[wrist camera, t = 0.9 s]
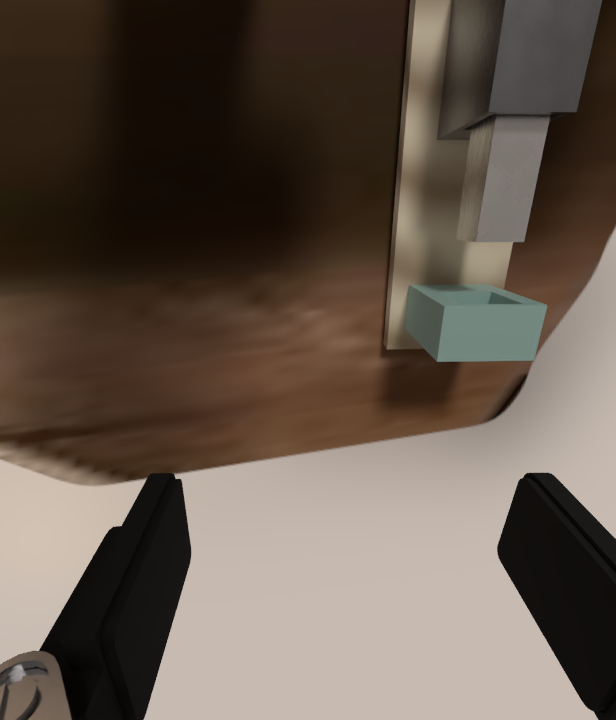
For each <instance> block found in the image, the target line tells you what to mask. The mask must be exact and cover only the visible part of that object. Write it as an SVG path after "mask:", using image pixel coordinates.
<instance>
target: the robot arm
mask: <svg viewBox="0 0 616 720" xmlns="http://www.w3.org/2000/svg"><path fill="white" fill-rule="evenodd" d="M497 551H498V556H499V559H500V561H501V563H502V565H503V566H504V568H505V570H506V571H507V573H508V575H509V577H510V578H511V580H512V582H513V584H514V585H515V587H516V589H517V590H518V592H519V594H520V595H521V597H522V599H523V601H524V602H525V604H526V606H527V608H528V609H529V611H530V613H531V614H532V616H533V618H534V620H535V621H536V623H537V625H538V626H539V628H540V630H541V632H542V633H543V635H544V637H545V638H546V640H547V642H548V644H549V645H550V647H551V649H552V651H553V652H554V654H555V656H556V657H557V659H558V661H559V662H560V664H561V666H562V668H563V669H564V671H565V673H566V674H567V676H568V678H569V680H570V681H571V683H572V685H573V687H574V688H575V690H576V692H577V693H578V695H579V697H580V698H581V700H582V701H583V703H584V704H585V705H586V707H587V708H588V709H590V710H592V711H594V713H595V715H596V716H597V718H598V720H616V539H615V538H614V537H613V536H612V535H611V534H610V533H609V532H608V531H607V530H606V529H605V528H604V527H603V526H602V525H601V524H600V523H599V521H597V519H596V518H595V517H594V516H593V515H592V514H591V513H590V512H589V511H588V510H587V509H586V508H585V507H584V506H583V505H582V504H581V503H580V502H579V501H578V500H577V499H576V498H575V497H574V496H573V495H572V494H571V493H570V492H569V491H568V490H567V488H565V486H563V484H562V483H561V482H560V481H559V480H558V479H557V478H556V477H555V476H554V475H552V474H550V473H527V474H525V475H524V477H523V478H522V479H520V480H519V482H518V485H517V488H516V491H515V494H514V497H513V500H512V503H511V507H510V510H509V512H508V516H507V519H506V522H505V525H504V528H503V531H502V534H501V537H500V541H499V543H498V547H497ZM190 559H191V545H190V538H189V531H188V523H187V516H186V509H185V502H184V494H183V487H182V481H181V479H175V475H174V474H172V473H152V474H150V475H149V477H148V478H147V480H146V482H145V484H144V486H143V488H142V489H141V491H140V493H139V495H138V497H137V499H136V500H135V502H134V504H133V506H132V508H131V510H130V511H129V514H128V515H127V517H126V519H125V521H124V522H123V524H122V526H119V527H113V528H111V529H110V530H109V531H108V533H107V534H106V535H105V537H104V539H103V541H102V542H101V544H100V546H99V547H98V549H97V551H96V553H95V554H94V556H93V558H92V560H91V561H90V563H89V565H88V567H87V568H86V570H85V572H84V574H83V575H82V577H81V579H80V581H79V582H78V584H77V586H76V587H75V589H74V591H73V593H72V594H71V596H70V598H69V600H68V601H67V603H66V605H65V606H64V608H63V610H62V612H61V614H60V615H59V617H58V619H57V620H56V622H55V624H54V626H53V627H52V629H51V631H50V632H49V634H48V636H47V638H46V639H45V641H44V643H43V645H42V646H41V648H40V650H39V651H31V652H27V653H23V654H19V655H17V656H15V657H13V658H11V659H9V660H7V661H5V662H3V663H2V664H1V665H0V720H143V719H144V717H145V714H146V711H147V708H148V704H149V701H150V697H151V693H152V691H153V687H154V684H155V680H156V677H157V674H158V670H159V667H160V663H161V660H162V656H163V653H164V650H165V646H166V643H167V639H168V636H169V632H170V629H171V626H172V622H173V619H174V616H175V612H176V609H177V606H178V602H179V599H180V595H181V592H182V589H183V585H184V582H185V578H186V575H187V571H188V568H189V564H190Z"/></svg>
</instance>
